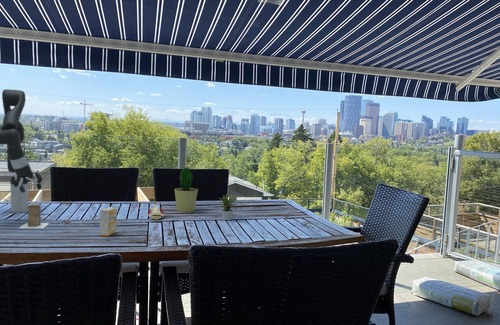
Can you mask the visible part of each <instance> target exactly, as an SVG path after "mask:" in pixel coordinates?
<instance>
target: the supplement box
mask: <svg viewBox="0 0 500 325" xmlns="http://www.w3.org/2000/svg"><path fill="white" fill-rule="evenodd" d="M117 212H118V207H111V206H109V207H105V208H103V209H100V210H99V236H101V237H109V236H111V235H113V234H116V233H117V225H118V224H117V222H118V221H117V216H118V213H117Z"/></svg>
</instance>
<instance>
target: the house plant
mask: <svg viewBox="0 0 500 325" xmlns="http://www.w3.org/2000/svg"><path fill="white" fill-rule="evenodd" d="M222 196H223V197H222V198H221V197H220V196H219V200H221V202H222V203H220V202H217V204H218V205H220V206H222V209H221V217H222V221H223V220H231V221H232V217H233V209H232V208H233V207H235V206H237V204H238V203H234V202H236V201H237V202H238V201H239V200H238V199H237V197H236V198H234V195H233V194H231V195H230V196H229V197H228V194H227V193H226V194H225V195H224V194H223V195H222ZM225 196H226V197H225Z"/></svg>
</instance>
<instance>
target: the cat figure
mask: <svg viewBox="0 0 500 325" xmlns="http://www.w3.org/2000/svg"><path fill="white" fill-rule="evenodd" d="M147 216H148V217H150V218H151V219H152V220H153V219H154V220H160V219H162V217H164V216H165V212H164V210H163V209H162V208H161V207H157V200H154V207H152V208H150V209H148V211H147ZM161 216H162V217H161Z"/></svg>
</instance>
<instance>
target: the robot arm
mask: <svg viewBox="0 0 500 325" xmlns="http://www.w3.org/2000/svg"><path fill="white" fill-rule="evenodd" d="M1 99H2V106H3V112H4V117H3V120H2V124H1V126H0V145H6V154H7V159H6V160H7V164H6V165H7V171H8V172H9V173H15V174H14V175H12V176H11V177H10V178H11V179H10V213H13V214H14V213H16V214H17V213H18V214H19V213H28V206H29V183H30V182H32V183H33V184H36V187H37V189H38V190H39V191H40V190H41V189H42V185H41V182H42V181H44V180H43V177H42V175H41V174H40V171H39V170H37V171H35V172H33V171H32V168H31V166H30V163H29V158H27V157H26V155H25V152H24V151H23V148H22V143H23V141H24V139H25V127H24V125H23V124H22V122H21V121H20V118H21V115H22V112H23V111H24V108H25V105H26V100H27V99H26V93H25V92H24V90H20V89H3V90H2V93H1ZM11 107H12V108H11Z"/></svg>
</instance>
